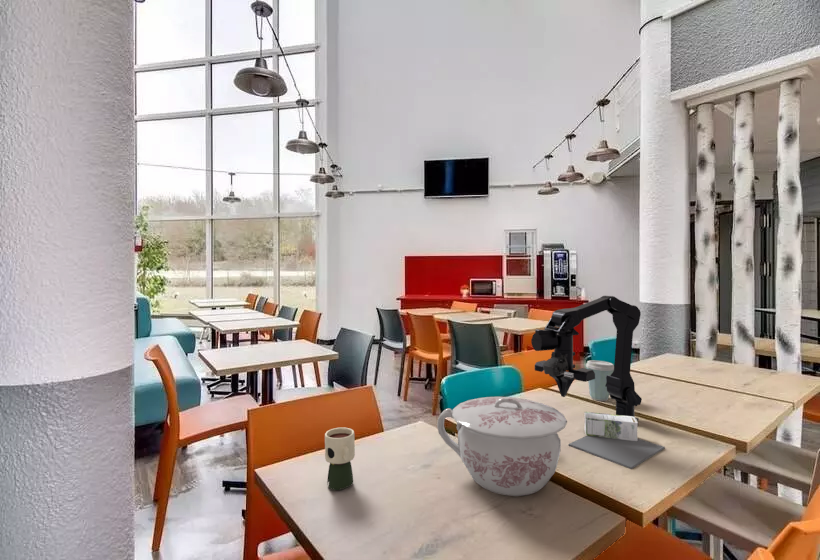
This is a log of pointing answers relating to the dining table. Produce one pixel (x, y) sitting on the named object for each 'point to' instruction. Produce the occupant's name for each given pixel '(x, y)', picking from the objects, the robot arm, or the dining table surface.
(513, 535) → the dining table surface
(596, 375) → the disposable coffee cup
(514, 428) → the chamber pot
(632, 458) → the mat
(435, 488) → the dining table surface
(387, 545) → the dining table surface
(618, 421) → the syrup box
